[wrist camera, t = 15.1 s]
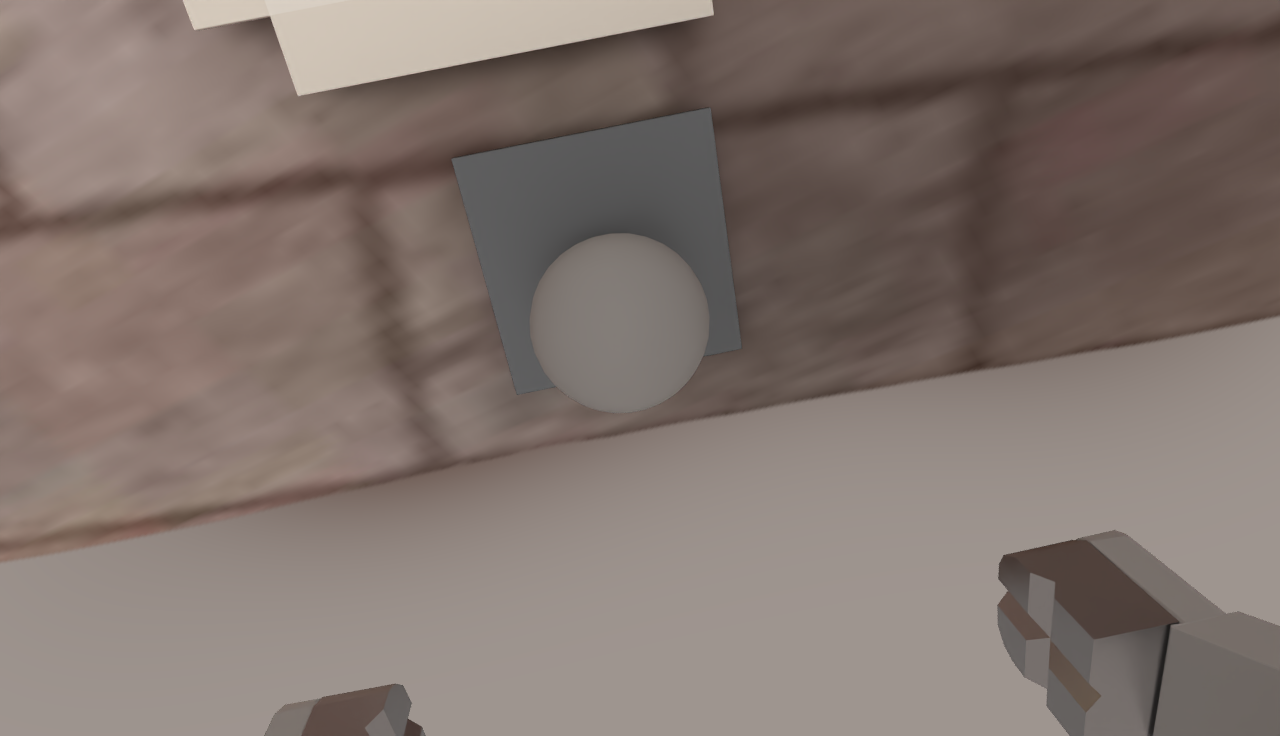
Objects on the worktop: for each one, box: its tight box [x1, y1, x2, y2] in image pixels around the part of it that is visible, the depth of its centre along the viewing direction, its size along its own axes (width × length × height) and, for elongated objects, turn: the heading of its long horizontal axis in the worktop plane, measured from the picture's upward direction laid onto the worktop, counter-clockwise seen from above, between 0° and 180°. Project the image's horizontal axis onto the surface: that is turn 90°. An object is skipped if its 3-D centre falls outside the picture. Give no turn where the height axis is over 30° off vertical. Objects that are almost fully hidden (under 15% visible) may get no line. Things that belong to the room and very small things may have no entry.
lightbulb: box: [530, 233, 709, 413], centre depth 26 cm, size 6×6×11 cm
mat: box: [452, 107, 742, 395], centre depth 31 cm, size 11×11×1 cm
